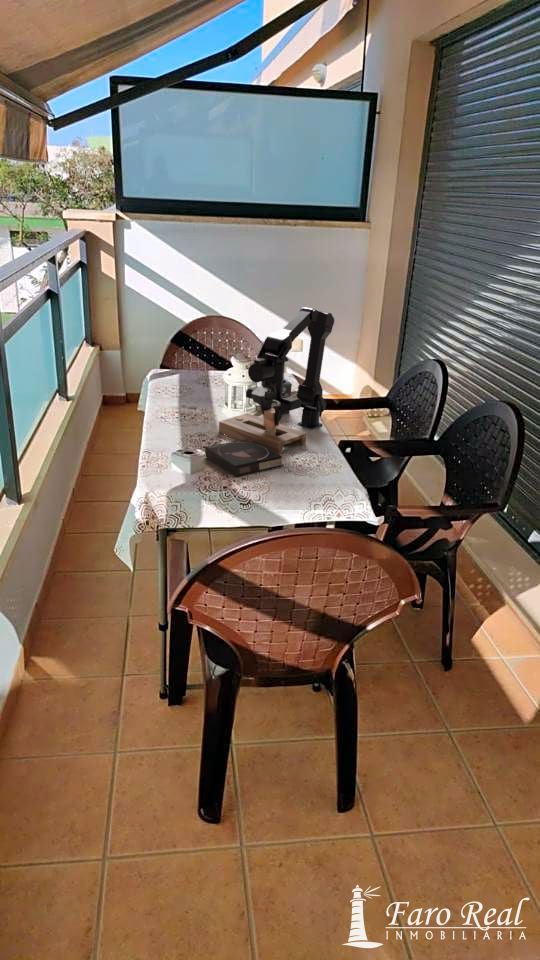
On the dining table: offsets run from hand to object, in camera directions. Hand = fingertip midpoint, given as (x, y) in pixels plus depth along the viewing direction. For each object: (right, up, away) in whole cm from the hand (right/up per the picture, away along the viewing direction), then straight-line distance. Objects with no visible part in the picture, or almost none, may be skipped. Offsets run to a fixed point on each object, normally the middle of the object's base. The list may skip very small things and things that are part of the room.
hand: (271, 423), depth 218 cm
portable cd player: (-9, -14, -15) cm, 22 cm away
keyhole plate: (-3, -5, +5) cm, 7 cm away
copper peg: (0, -6, +2) cm, 6 cm away
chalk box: (+1, +8, +34) cm, 35 cm away
